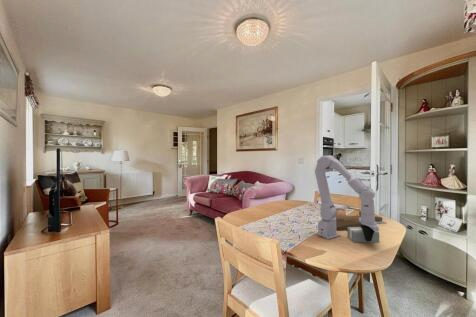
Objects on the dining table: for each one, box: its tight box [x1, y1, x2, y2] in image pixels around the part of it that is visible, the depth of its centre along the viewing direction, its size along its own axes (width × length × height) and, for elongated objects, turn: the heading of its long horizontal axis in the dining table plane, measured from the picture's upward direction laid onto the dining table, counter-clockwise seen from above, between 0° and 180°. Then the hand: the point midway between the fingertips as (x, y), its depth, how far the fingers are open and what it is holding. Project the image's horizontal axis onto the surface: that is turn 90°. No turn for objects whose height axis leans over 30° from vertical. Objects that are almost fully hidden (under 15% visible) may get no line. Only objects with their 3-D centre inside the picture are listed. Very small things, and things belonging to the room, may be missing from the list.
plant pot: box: [335, 207, 347, 216], centre depth 142 cm, size 7×7×7 cm
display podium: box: [335, 215, 363, 231], centre depth 124 cm, size 5×18×7 cm, turn 86°
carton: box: [346, 227, 380, 243], centre depth 109 cm, size 8×12×5 cm, turn 86°
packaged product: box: [356, 209, 387, 225], centre depth 140 cm, size 18×5×10 cm
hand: (368, 240), depth 104 cm, fingers closed
